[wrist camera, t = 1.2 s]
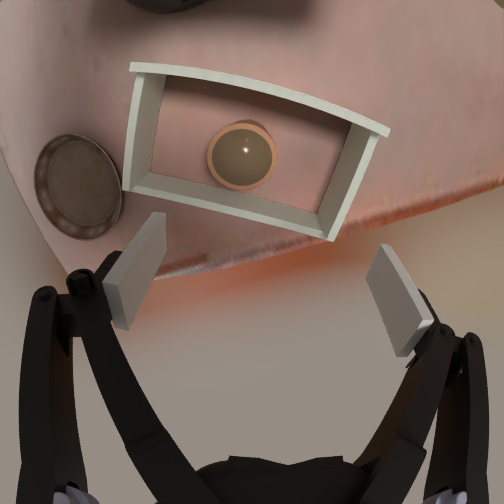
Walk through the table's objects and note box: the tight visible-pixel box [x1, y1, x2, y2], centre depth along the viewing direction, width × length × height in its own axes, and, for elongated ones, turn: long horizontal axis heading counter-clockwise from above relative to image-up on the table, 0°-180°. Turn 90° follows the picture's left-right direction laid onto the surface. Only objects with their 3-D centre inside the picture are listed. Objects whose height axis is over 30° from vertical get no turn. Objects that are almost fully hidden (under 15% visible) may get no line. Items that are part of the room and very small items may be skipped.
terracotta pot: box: [207, 119, 277, 190], centre depth 30 cm, size 7×7×8 cm
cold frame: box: [122, 62, 391, 242], centre depth 29 cm, size 16×26×9 cm, turn 75°
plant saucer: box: [34, 133, 122, 241], centre depth 35 cm, size 18×18×3 cm
